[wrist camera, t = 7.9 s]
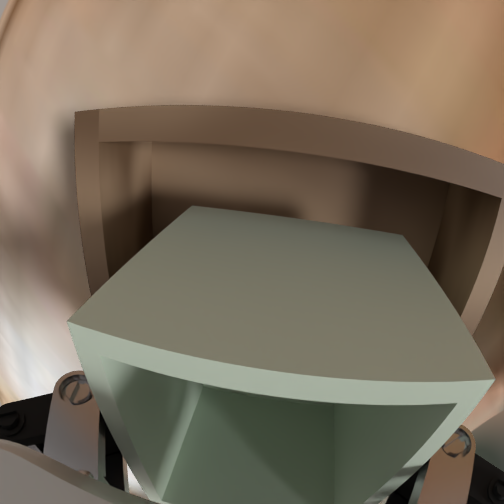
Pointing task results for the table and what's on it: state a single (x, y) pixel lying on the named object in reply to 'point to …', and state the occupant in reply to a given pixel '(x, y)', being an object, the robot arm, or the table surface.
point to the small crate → (276, 361)
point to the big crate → (288, 185)
